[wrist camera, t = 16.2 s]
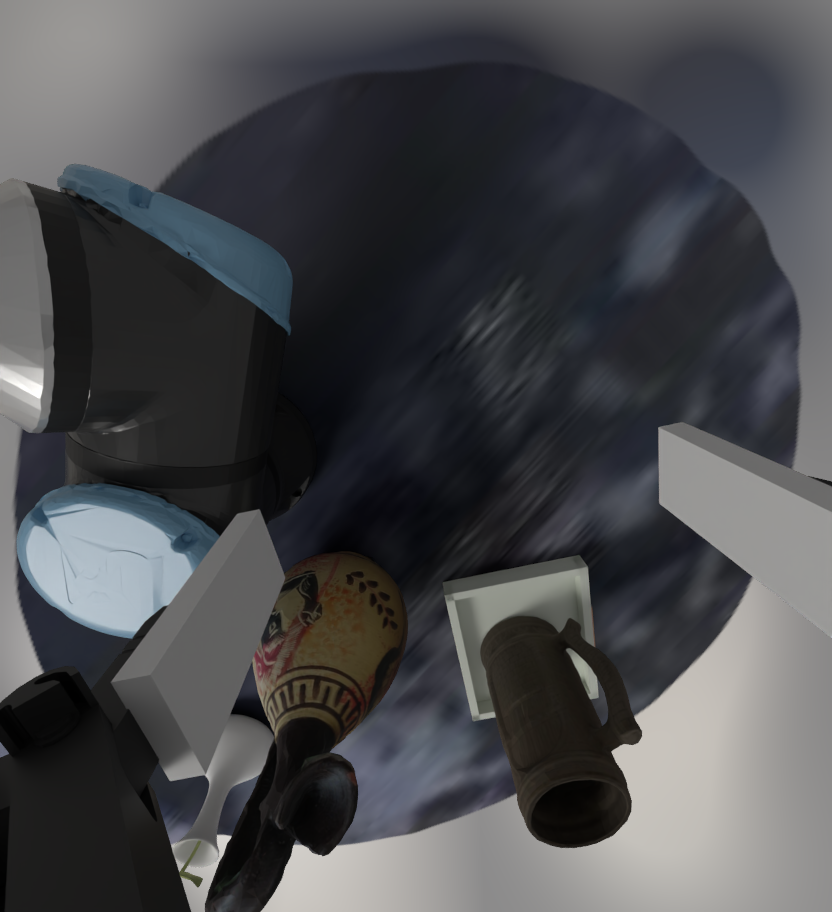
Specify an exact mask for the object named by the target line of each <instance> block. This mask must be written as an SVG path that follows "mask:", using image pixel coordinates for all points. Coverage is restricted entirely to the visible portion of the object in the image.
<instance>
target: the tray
mask: <svg viewBox="0 0 832 912" xmlns="http://www.w3.org/2000/svg"><path fill="white" fill-rule="evenodd" d="M443 589H444V595H445V599H446V604H447V608H448V613H449V617H450V622H451V626H452V630H453V635H454V639H455V644H456V648H457V653H458V657H459V661H460V666H461V670H462V675H463V679H464V683H465V688H466V692H467V697H468V701H469V706H470V710H471V714H472V719H473V721H477V720H482V719H488V718H493V717H496V716H495V712H494V708H493V704H492V700H491V697H490V693H489V688H488V684H487V678H486V670H485V668H484V666H483V664H482V661H481V655H480V649H481V644H482V641H483V639H484V637H485V636H486V634H487V633H488V632H489V631H490V629H492V628H493V627H494V626H495V625H497V624H498V623H500V622H502V621H504V620H507V619H509V618H513V617H517V616H532V617H538V618H540V619H543V620H545V621H547V622H548V623H550V624H552V625H553V626H554V627H555V628H556V629H557V631H558V632H559V633H560V632H561V631H562V630H563V628H564V627H565V624H566V622H567V620H568V619H569V618H572V619H573V620H575V621H576V622H578V623H579V624H580V625H581V636H582V638H583V639H584V640H585V641H586V642H588V643H589V644H591V645H592V646H594V647H595V635H594V623H593V611H592V607H591V600H590V588H589V576H588V567H587V565H586V564H585V562H584V561H583V559H582V558H581V557H580V555H576V556H571V557H566V558H561V559H556V560H551V561H546V562H541V563H536V564H531V565H526V566H521V567H516V568H511V569H506V570H501V571H496V572H491V573H486V574H481V575H476V576H471V577H466V578H461V579H456V580H451V581H446V582H443ZM566 651H567V652H568V654H569V655H570V656H571V658H572V661H573V663H574V665H575V667H576V669H577V670H578V673H579V675H580V677H581V681H582V683H583V685H584V688H585V690H586V692H587V694H588V696H589V698H590V699H594V698H599V697H598V685H597V676H596V675H595V674H594V673H593V671H592V669H591V668H590V666H589V665H588V664H587V663H586V662H585V661H584V660H583V659H582V658H581V657H580V656H579V655H578V654H577V653H576V652H574V651H573V650H572V649H570V648H568V649H566Z"/></svg>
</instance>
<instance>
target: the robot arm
mask: <svg viewBox="0 0 832 912" xmlns="http://www.w3.org/2000/svg"><path fill="white" fill-rule="evenodd" d="M58 186H59V187H60V191H61V192H58V191H54V190H51V189H47V188H44V187H41V186H37V185H34V184H30V183H27V182H24V181H20V180H16V179H9V180H7V181H5V182H3V183H1V184H0V414H2V415H3V416H5V417H6V418H8V419H9V420H11V421H12V422H14V423H15V424H17V425H18V426H20V427H21V428H23V429H24V430H26V431H27V432H30V433H49V432H66V480H65V484H64V486H63V487H61V488H59V489H56V490H53V491H51V492H49V493H48V494H46V495H44V496H43V497H42V498H41V500H40V501H39V502H38V503H37V504H36V505H35V507H34V508H33V509H32V510H31V511H30V512H29V513H28V514H27V515H26V517H25V518H24V520H23V522H22V523H21V526H20V529H19V532H18V535H17V553H18V558H19V561H20V564H21V567H22V569H23V572H24V574H25V575H26V577H27V579H28V580H29V582H30V583H31V585H32V586H33V587H34V589H35V590H36V591H37V592H38V593H39V594H40V595H41V596H42V597H43V598H44V599H45V600H46V601H47V602H48V603H49V604H50V605H51V606H54V607H56V608H57V609H59V610H61V611H62V612H63V613H64V614H65V615H66V616H68V617H69V618H70V619H72V620H74V621H76V622H78V623H80V624H82V625H84V626H86V627H89V628H91V629H94V630H97V631H100V632H103V633H106V634H110V635H114V636H119V637H125V638H133V640H131V641H129V643H128V644H127V645H126V646H125V648H124V649H123V650H122V654H119V655H118V657H117V658H116V659H115V660H114V662H113V663H112V664H111V665H110V667H109V668H108V669H107V671H106V672H105V673H104V674H103V676H102V677H101V678H100V679H99V681H98V682H97V683H96V685H95V686H94V687H93V688H92V690H90V689H89V687H88V686H87V684H86V682H85V681H84V679H83V678H82V676H81V674H80V673H79V671H78V670H77V669H76V668H75V667H69V666H64V667H60V668H57V669H53V670H50V671H48V672H46V673H43V674H41V675H39V676H37V677H35V678H33V679H32V680H30V681H29V682H27V683H26V684H24V685H22V686H21V687H19V688H18V689H16V690H15V691H14V692H13V693H11V694H10V695H9V696H8V697H6V698H5V699H4V700H3V701H2V702H1V703H0V742H1V743H2V745H3V746H4V747H5V748H6V750H7V751H8V752H9V754H8V755H6V756H3V757H1V758H0V912H191V910H190V907H189V903H188V900H187V897H186V894H185V890H184V887H183V883H182V880H181V877H180V874H179V870H178V867H177V864H176V860H175V857H174V854H173V851H172V848H171V844H170V841H169V837H168V834H167V831H166V827H165V824H164V821H163V818H162V814H161V811H160V808H159V804H158V801H157V798H156V794H155V792H154V790H153V789H152V787H151V786H150V784H149V782H148V781H149V779H150V777H151V775H152V773H153V771H154V769H155V767H156V765H157V763H158V762H159V764H160V765H161V767H162V769H163V770H164V772H165V773H166V775H167V777H168V778H169V780H170V781H173V780H179V779H184V778H190V777H195V776H201V775H206V773H207V770H208V768H209V766H210V763H211V761H212V758H213V756H214V753H215V751H216V748H217V746H218V743H219V741H220V738H221V736H222V733H223V731H224V729H225V726H226V724H227V721H228V719H229V716H230V714H231V711H232V709H233V706H234V704H235V701H236V699H237V696H238V694H239V691H240V689H241V687H242V684H243V682H244V679H245V677H246V674H247V672H248V669H249V667H250V664H251V662H252V659H253V657H254V654H255V652H256V649H257V647H258V645H259V642H260V640H261V637H262V635H263V632H264V630H265V627H266V625H267V622H268V620H269V617H270V615H271V612H272V610H273V608H274V605H275V603H276V600H277V598H278V595H279V593H280V590H281V588H282V585H283V583H284V580H285V576H284V573H283V570H282V568H281V565H280V562H279V560H278V557H277V554H276V551H275V549H274V546H273V543H272V541H271V538H270V535H269V533H268V530H267V527H266V526H267V524H268V522H269V521H270V520H272V519H274V518H276V517H278V516H280V515H282V514H284V513H285V512H287V511H288V510H290V509H291V508H292V507H293V506H294V505H295V504H296V503H297V502H298V501H299V500H300V499H301V498H302V496H303V495H304V493H305V492H306V490H307V488H308V486H309V484H310V482H311V480H312V478H313V475H314V472H315V468H316V462H317V450H316V443H315V439H314V435H313V433H312V430H311V428H310V426H309V424H308V422H307V420H306V419H305V417H304V416H303V414H302V413H301V412H300V411H299V410H298V408H297V407H296V406H295V405H294V404H293V403H292V402H290V401H289V400H288V399H287V398H285V397H284V396H283V395H281V394H279V393H278V388H279V382H280V375H281V368H282V362H283V355H284V349H285V342H286V336H287V335H288V336H289V335H290V333H291V326H290V324H289V314H290V305H291V296H292V286H293V280H292V274H291V270H290V268H289V266H288V264H287V263H286V261H285V259H284V258H283V257H282V256H281V255H280V254H279V253H278V252H277V251H276V250H275V249H274V248H272V247H271V246H269V245H268V244H266V243H265V242H263V241H262V240H260V239H258V238H256V237H255V236H253V235H251V234H249V233H247V232H245V231H243V230H242V229H240V228H238V227H236V226H234V225H232V224H230V223H228V222H225V221H223V220H221V219H219V218H217V217H215V216H213V215H211V214H209V213H206V212H204V211H202V210H200V209H198V208H195V207H193V206H191V205H189V204H186V203H184V202H182V201H180V200H177V199H175V198H172V197H170V196H167V195H165V194H162V193H159V192H151V191H150V190H149V189H147V188H146V187H143V186H140V185H138V184H135V183H132V182H131V181H129V180H126V179H124V178H122V177H120V176H117V175H115V174H112V173H109V172H106V171H103V170H100V169H97V168H94V167H90V166H86V165H80V164H71V165H69V166H67V167H66V168H65V169H64V172H63V175H62V176H60V177H59V178H58ZM659 504H661V505H662V506H663V507H664V508H666V509H667V510H668V511H670V512H671V513H672V514H673V515H675V516H676V517H677V518H679V519H680V520H681V521H682V522H684V523H685V524H686V525H688V526H689V527H690V528H691V529H693V530H694V531H695V532H696V533H698V534H699V535H700V536H702V537H703V538H704V539H705V540H707V541H708V542H709V543H711V544H712V545H713V546H714V547H716V548H717V549H718V550H719V551H721V552H722V553H723V554H725V555H726V556H727V557H728V558H730V559H731V560H732V561H734V562H735V563H736V564H737V565H739V566H740V567H741V568H743V569H744V570H745V571H746V572H748V573H749V574H750V575H751V576H753V577H754V578H755V579H757V580H758V581H759V582H761V583H762V584H763V585H764V586H766V587H767V588H768V589H770V590H771V591H772V592H773V593H775V594H776V595H777V596H778V597H780V598H781V599H782V600H784V601H785V602H786V603H787V604H789V605H790V606H791V607H792V608H794V609H795V610H796V611H798V612H799V613H800V614H801V615H803V616H804V617H805V618H807V619H808V620H809V621H810V622H812V623H813V624H814V625H815V626H817V627H818V628H819V629H821V630H822V631H823V632H825V633H826V634H827V635H828V636H829V637H831V638H832V482H831V481H827V480H823V479H819V478H814V477H810V476H806V475H804V474H801V473H799V472H797V471H794V470H792V469H790V468H787V467H785V466H783V465H780V464H778V463H776V462H774V461H771V460H769V459H767V458H764V457H762V456H760V455H757V454H755V453H753V452H750V451H748V450H746V449H743V448H741V447H739V446H737V445H734V444H732V443H730V442H727V441H725V440H723V439H720V438H718V437H716V436H713V435H711V434H709V433H706V432H704V431H702V430H699V429H697V428H695V427H693V426H690V425H688V424H686V423H683V422H681V423H676V424H671V425H667V426H662V427H659Z"/></svg>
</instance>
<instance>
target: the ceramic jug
mask: <svg viewBox="0 0 832 912" xmlns="http://www.w3.org/2000/svg"><path fill="white" fill-rule="evenodd" d="M284 576H285V580H284V583H283V585H282V588H281V590H280V593H279V595H278V598H277V600H276V603H275V605H274V608H273V610H272V612H271V615H270V617H269V620H268V622H267V625H266V627H265V630H264V632H263V635H262V637H261V640H260V642H259V645H258V647H257V649H256V652H255V654H254V657H253V659H252V664H253V669H254V674H255V679H256V684H257V689H258V693H259V696H260V699H261V702H262V705H263V708H264V711H265V713H266V716H267V717H268V720H269V722H270V724H271V728H272V730H273V732H274V734H275V735H274V739H273V742H272V744H271V747H270V749H269V752H268V756H267V759H266V763H265V765H264V767H263V769H262V772H261V774H260V776H259V778H258V780H257V783H256V786H255V788H254V790H253V792H252V795H251V797H250V799H249V800H248V802H247V803H246V805H245V807H244V809H243V812H242V814H241V816H240V818H239V820H238V822H237V825H236V827H235V830H234V832H233V835H232V837H231V839H230V841H229V842H228V843H227V846H226V849H225V853H224V855H223V857H222V859H221V860H220V862H219V865H218V868H217V870H216V873H215V876H214V878H213V881H212V883H211V886H210V889H209V892H208V896H207V900H206V903H205V912H260V911H261V910H262V909H263V908H264V906H265V905H266V904H267V902H268V901H269V899H270V898H271V897H272V895H273V894H274V892H275V890H276V888H277V886H278V885H279V883H280V881H281V879H282V876H283V873H284V870H285V866H286V864H287V863H288V860H289V859H290V857H291V853H292V848H293V845H294V842H295V840H297V841H299V842H300V843H301V844H302V845H304V846H306V847H308V848H309V850H310V851H311V852H312V853H315V854H318V855H322V856H325V855H328V854H329V853H330V852H331V851H332V850H333V849H334V848H335V847H336V846H337V845H338V844H339V842H340V841H341V839H342V838H343V836H344V834H345V833H346V831H347V830H348V828H349V827H350V825H351V824H352V822H353V819H354V815H355V812H356V808H357V800H358V785H357V780H356V776H355V771H354V768H353V766H352V764H351V763H350V762H349V761H347V760H346V759H345V758H343V757H342V756H341V755H338V754H334V753H330V751H331V750H332V748H334V747H335V746H336V745H337V744H339V743H340V742H341V741H343V740H344V739H345V738H346V736H347V735H348V734H350V733H351V732H352V731H353V730H354V729H355V728H356V727H357V726H358V725H359V724H360V723H361V722H362V721H363V720H364V719H365V718H366V717H367V716H368V715H369V713H370V712H371V711H372V710H373V709H374V708H375V707H376V706H377V705H378V703H379V702H380V701H381V700H382V698H383V697H384V695H385V694H386V692H387V691H388V689H389V688H390V685H391V684H392V682H393V680H394V678H395V676H396V674H397V671H398V668H399V665H400V663H401V660H402V657H403V653H404V650H405V646H406V640H407V633H408V619H407V612H406V607H405V603H404V599H403V596H402V594H401V591H400V589H399V588H398V586H397V584H396V583H395V581H394V580H393V579H392V577H391V576H390V575H389V574H388V573H387V572H386V571H385V570H384V569H383V568H382V567H380V566H379V565H378V564H376V562H375V561H374V559H373V558H371V557H366V556H363V555H361V554H359V553H355V552H352V551H340V552H331V553H322V554H318V555H314V556H311V557H309V558H306V559H304V560H302V561H300V562H298V563H296V564H295V565H294V566H293V567H292V568H291V569H289V570H288V571H287V572H285V573H284Z"/></svg>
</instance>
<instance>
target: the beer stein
mask: <svg viewBox="0 0 832 912" xmlns="http://www.w3.org/2000/svg"><path fill="white" fill-rule="evenodd" d="M568 648H570V649H572V650H573V651H574V652H576V653H577V654H578V655H579V656H580V657H581V658H582V659H583V660H584V661H585V662H586V663H587V664H588V665H589V666H590V668H591V669H592V671H593V673H594V674H595V675H596V676H597V678H598V680H599V682H600V684H601V686H602V688H603V690H604V692H605V696H606V700H607V705H608V720H607V722H606V724H604V725H603V726H602V724H601V722H600V719H599V717H598V715H597V713H596V711H595V708H594V706H593V704H592V702H591V700H590V698H589V696H588V694H587V692H586V690H585V688H584V685H583V683H582V681H581V677H580V675H579V673H578V670H577V669H576V667H575V665H574V663H573V661H572V658H571V656H570V655H569V654H568V652H567V651H566V649H568ZM480 655H481V661H482V664H483V666H484V668H485V670H486V678H487V684H488V688H489V693H490V697H491V700H492V704H493V708H494V712H495V716H496V720H497V724H498V728H499V733H500V736H501V740H502V744H503V747H504V750H505V752H506V754H507V757H508V759H509V762H510V766H511V770H512V775H513V780H514V784H515V788H516V792H517V801H518V805H519V809H520V811H521V813H522V816H523V817H524V820H525V823H526V826H527V828H528V829H529V831H530V832H531V833H532V835H533V836H534V837H535V838H536V839H537V840H539V841H542V842H544V843H546V844H549V845H552V846H555V847H560V848H577V847H583V846H588V845H592V844H595V843H598V842H600V841H602V840H604V839H606V838H609V837H610V836H613V835H614V834H615V833H616V832H617V831H618V830H619V829H620V828H621V827H622V825H623V824H624V823H625V822H626V821H627V820H628V817H629V815H630V813H631V803H632V800H631V797H630V794H629V791H628V788H627V782H626V779H625V777H624V774H623V772H622V770H621V769H620V768H619V766H618V765H617V763H616V762H615V760H614V757H613V755H612V753H611V751H612V750H614V749H615V748H617V747H619V746H620V745H622V744H629V745H634V744H636V743H638V742H639V741H640V739H641V737H642V731H641V729H640V727H639V726H638V724H637V722H636V721H635V718H634V716H633V713H632V711H631V708H630V703H629V699H628V695H627V692H626V689H625V686H624V683H623V680H622V678H621V676H620V674H619V672H618V670H617V668H616V667H615V666H614V664H613V663H612V662H611V661H610V660H609V659H608V658H607V657H606V655H605V654H603V653H602V652H601V651H600V650H598V649H597V648H595V647H594V646H592V645H591V644H589V643H588V642H586V641H585V640H584V639H583V638H582V636H581V625H580V624H579V623H578V622H576V621H575V620H573V619H572V618H569V619H568V620H567V622H566V624H565V627H564V628H563V630H562V631H561V632H560V633H559V632H558V631H557V629H556V628H555V627H554V626H553V625H552V624H550V623H548V622H547V621H545V620H543V619H540V618H538V617H532V616H517V617H513V618H509V619H507V620H504V621H502V622H500V623H498V624H497V625H495V626H494V627H493V628H492V629H490V631H489V632H488V633H487V634H486V636H485V637H484V639H483V641H482V644H481V649H480Z"/></svg>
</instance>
